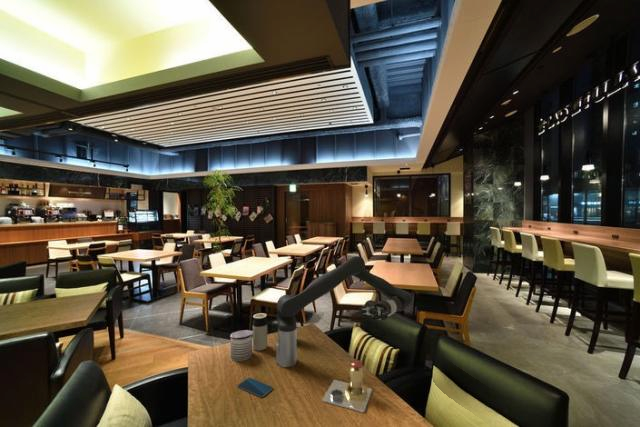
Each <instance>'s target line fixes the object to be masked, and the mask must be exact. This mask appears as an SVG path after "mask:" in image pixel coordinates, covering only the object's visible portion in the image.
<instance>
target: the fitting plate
mask: <svg viewBox="0 0 640 427" xmlns="http://www.w3.org/2000/svg"><path fill="white" fill-rule="evenodd" d="M372 392H373V389H372V388H370V387H366V386H365V385H364V384H363V394H359V395H356V394H352V393H350V382H345V381H340V380H337V379H334V380H333V381H331V384H330V385H329V387H328V389H327V391H326V392H325V394H324V395H323V397H322V400H321V401H322V403H327V404H331V405H335V406H337V407H342V408H345V409H349V410H353V411H356V412H360V413H363V414H364V413H365V412H366V409H367V406H368V403H369V401H370V398H371V395H372Z"/></svg>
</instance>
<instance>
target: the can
mask: <svg viewBox="0 0 640 427" xmlns="http://www.w3.org/2000/svg"><path fill="white" fill-rule="evenodd" d="M229 336H230V337H229V338H230V359H231V360H232V361H234V362H242V361H246V360H249V359H250V358H251V357H252V356H253V330H249V329H246V330H245V329H244V330H237V331H234V332H231V333H230V335H229Z"/></svg>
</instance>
